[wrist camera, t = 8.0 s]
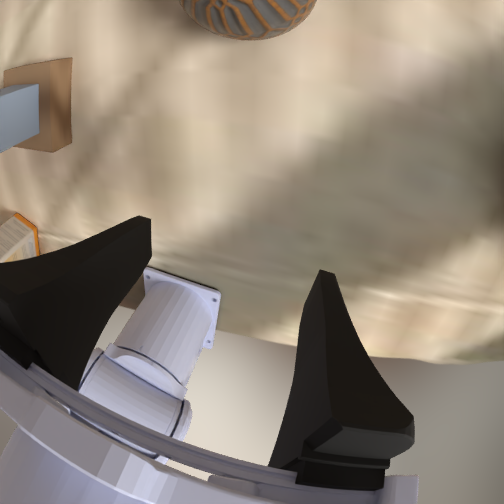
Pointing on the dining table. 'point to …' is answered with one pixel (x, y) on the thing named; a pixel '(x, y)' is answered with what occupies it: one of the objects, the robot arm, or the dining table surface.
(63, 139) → the base
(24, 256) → the supplement box
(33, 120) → the cube
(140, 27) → the dining table surface
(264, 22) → the vase
